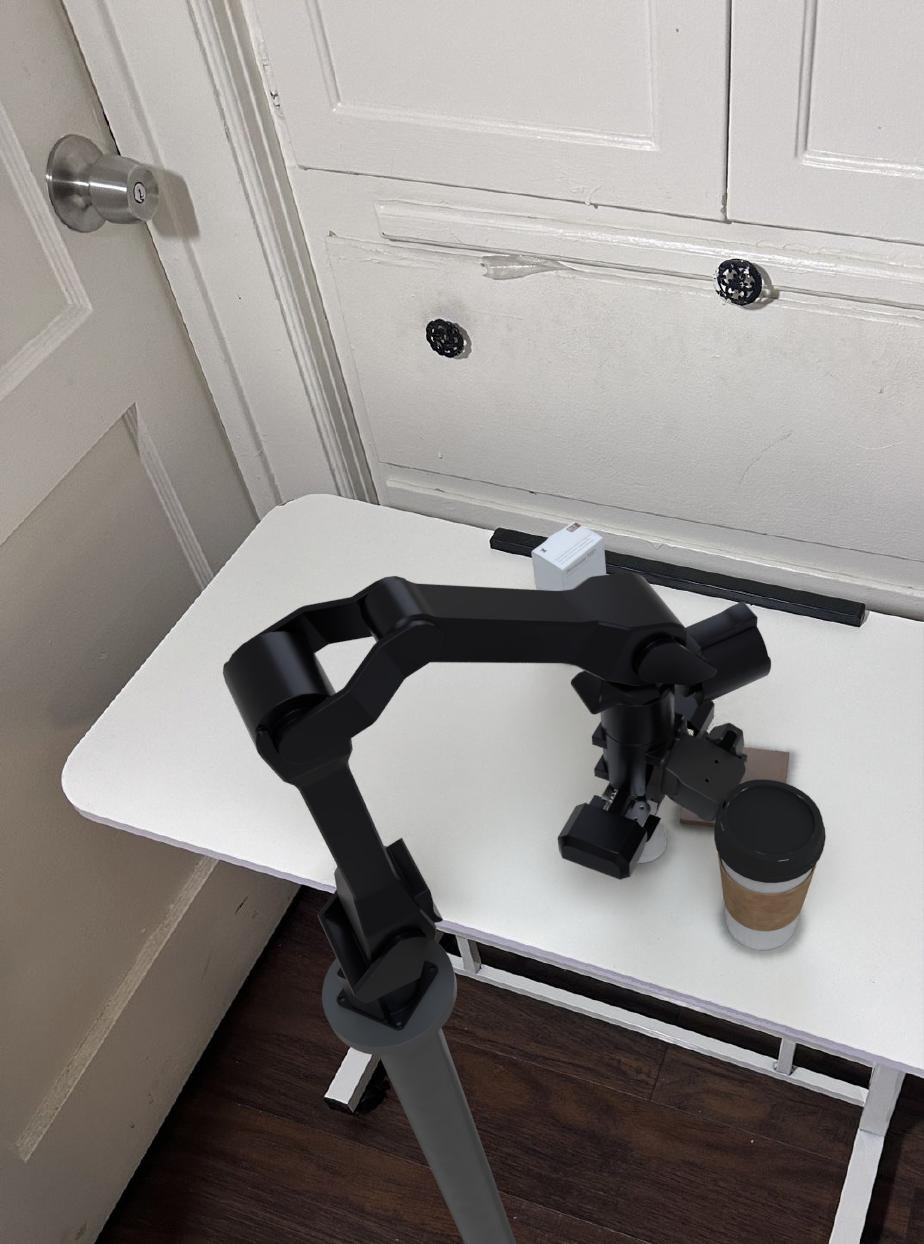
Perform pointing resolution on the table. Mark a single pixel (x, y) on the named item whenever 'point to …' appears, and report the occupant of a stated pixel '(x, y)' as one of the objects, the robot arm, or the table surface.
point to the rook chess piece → (654, 840)
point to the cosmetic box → (568, 558)
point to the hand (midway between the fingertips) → (641, 832)
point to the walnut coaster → (751, 775)
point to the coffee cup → (766, 859)
